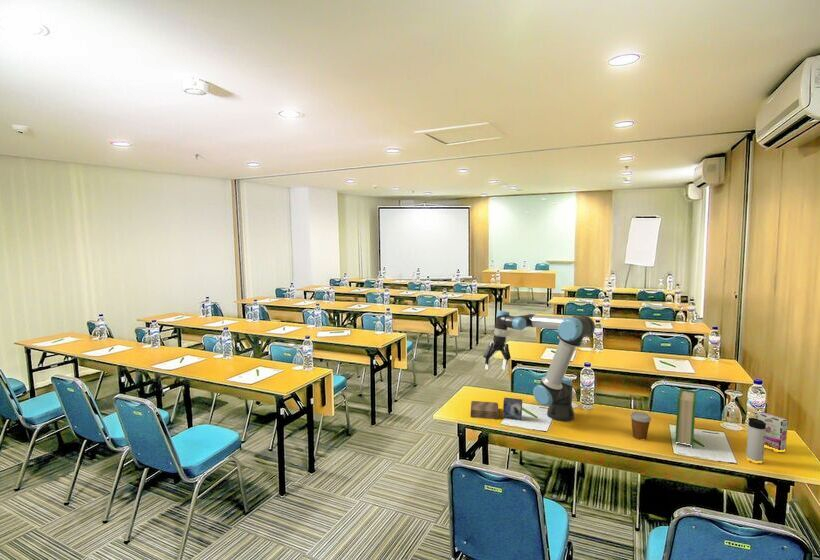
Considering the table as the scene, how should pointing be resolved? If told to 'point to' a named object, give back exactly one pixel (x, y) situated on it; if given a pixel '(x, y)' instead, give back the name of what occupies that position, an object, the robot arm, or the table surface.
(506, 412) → the small box
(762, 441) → the travel mug
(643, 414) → the disposable coffee cup
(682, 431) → the hardback book
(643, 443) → the table surface
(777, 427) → the candy bar box
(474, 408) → the walnut stand
